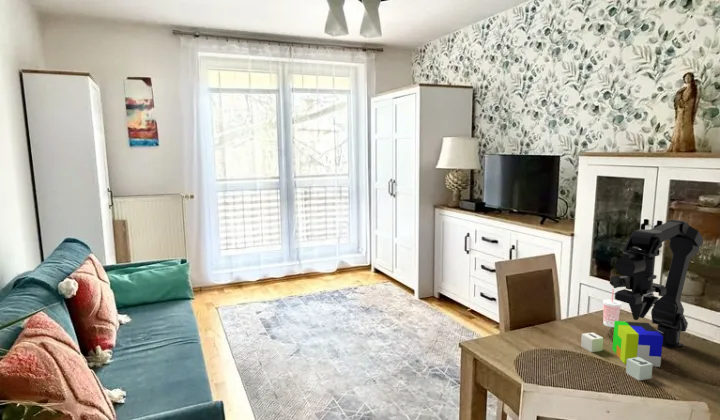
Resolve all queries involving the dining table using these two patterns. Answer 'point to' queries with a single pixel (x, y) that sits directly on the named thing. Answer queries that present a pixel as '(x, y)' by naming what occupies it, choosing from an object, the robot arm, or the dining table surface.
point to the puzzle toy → (637, 342)
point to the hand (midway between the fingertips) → (638, 318)
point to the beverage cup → (611, 311)
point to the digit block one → (592, 342)
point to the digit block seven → (639, 368)
